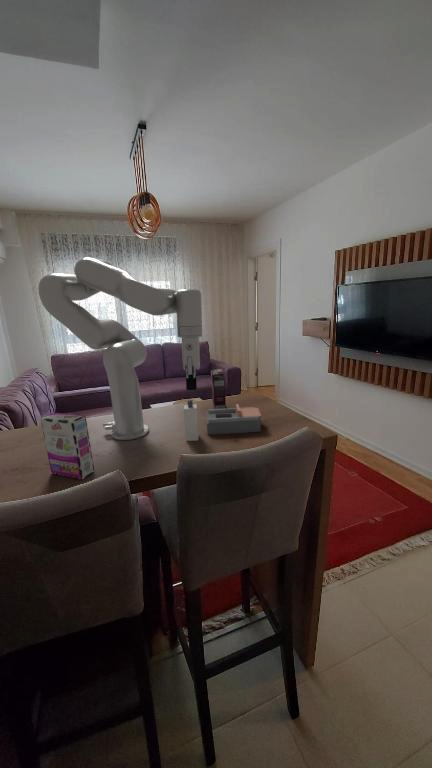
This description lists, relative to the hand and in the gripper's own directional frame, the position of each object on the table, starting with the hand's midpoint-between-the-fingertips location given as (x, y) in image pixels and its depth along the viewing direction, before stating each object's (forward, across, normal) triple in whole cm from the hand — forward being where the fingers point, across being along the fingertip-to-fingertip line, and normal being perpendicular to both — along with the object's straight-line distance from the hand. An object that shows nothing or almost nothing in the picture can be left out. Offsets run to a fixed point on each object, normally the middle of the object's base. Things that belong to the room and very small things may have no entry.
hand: (191, 389), depth 101 cm
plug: (+17, -1, 0) cm, 17 cm away
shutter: (+12, +7, -19) cm, 23 cm away
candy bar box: (+18, -19, +32) cm, 41 cm away
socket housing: (+16, +6, -14) cm, 22 cm away
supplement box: (+17, +26, -10) cm, 32 cm away
